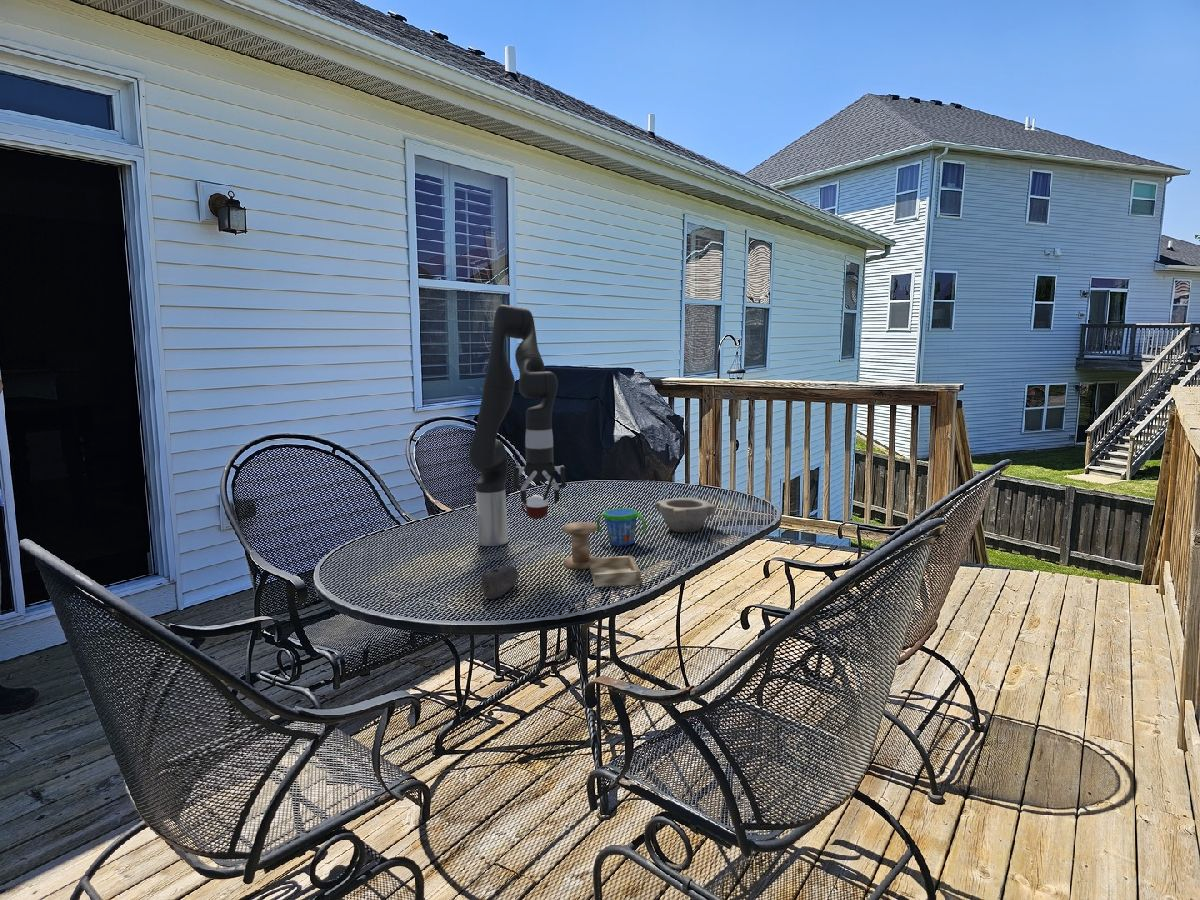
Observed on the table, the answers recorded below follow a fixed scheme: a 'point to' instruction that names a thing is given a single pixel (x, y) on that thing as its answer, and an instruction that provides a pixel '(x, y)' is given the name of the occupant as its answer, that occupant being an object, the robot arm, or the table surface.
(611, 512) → the snack cup
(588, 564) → the tan spool shaped stand
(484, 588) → the perforated stone tool
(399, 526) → the table surface
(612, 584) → the shallow rimmed tray
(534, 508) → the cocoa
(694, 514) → the mortar
